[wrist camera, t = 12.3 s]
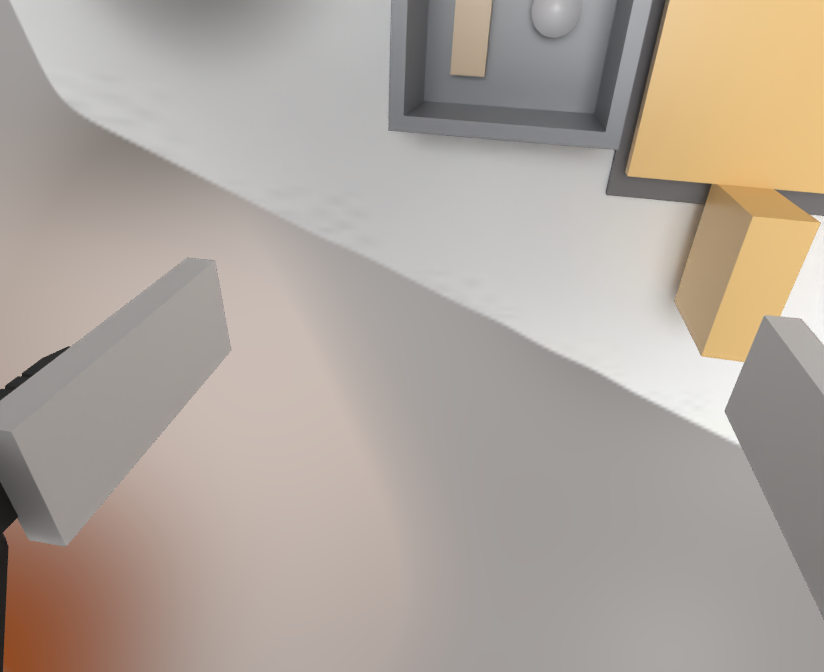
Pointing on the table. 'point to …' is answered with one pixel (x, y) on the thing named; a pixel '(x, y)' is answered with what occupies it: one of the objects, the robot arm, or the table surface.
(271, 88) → the table surface
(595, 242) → the table surface
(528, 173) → the table surface
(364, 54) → the table surface
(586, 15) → the charcoal tub
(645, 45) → the grey rubber mat
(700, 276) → the amber lid
